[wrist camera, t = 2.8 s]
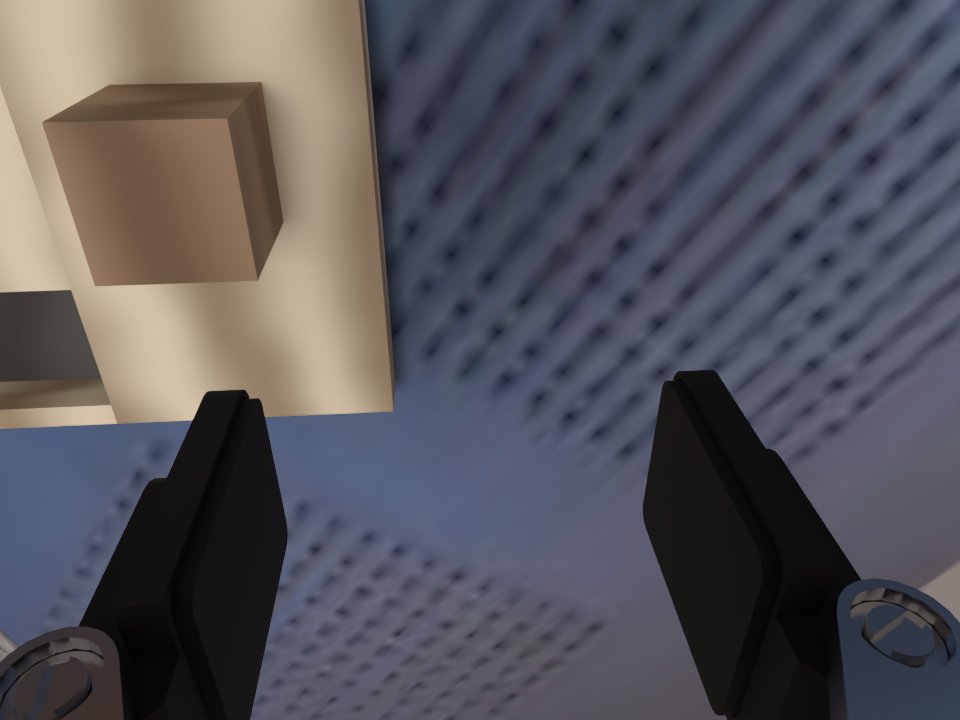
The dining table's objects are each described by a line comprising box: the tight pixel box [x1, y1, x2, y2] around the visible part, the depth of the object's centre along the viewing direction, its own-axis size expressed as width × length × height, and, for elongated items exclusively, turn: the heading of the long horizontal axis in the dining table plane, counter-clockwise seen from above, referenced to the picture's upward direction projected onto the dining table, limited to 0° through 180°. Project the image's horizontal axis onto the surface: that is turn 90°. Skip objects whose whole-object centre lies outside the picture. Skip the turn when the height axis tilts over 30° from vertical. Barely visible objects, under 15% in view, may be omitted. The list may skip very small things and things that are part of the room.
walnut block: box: [42, 82, 283, 286], centre depth 23 cm, size 5×5×5 cm
